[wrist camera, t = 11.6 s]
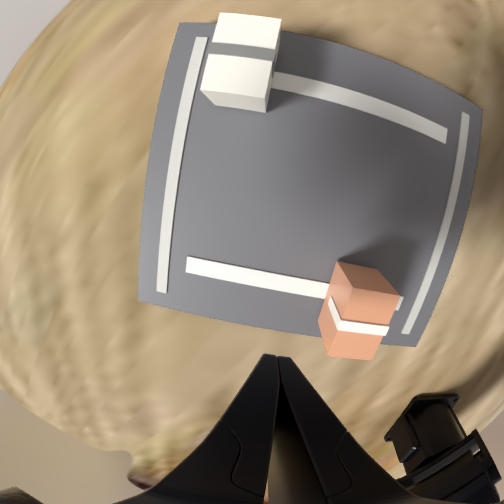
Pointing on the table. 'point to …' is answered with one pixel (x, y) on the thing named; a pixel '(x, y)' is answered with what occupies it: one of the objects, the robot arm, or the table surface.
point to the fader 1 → (242, 61)
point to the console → (304, 187)
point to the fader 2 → (356, 311)
